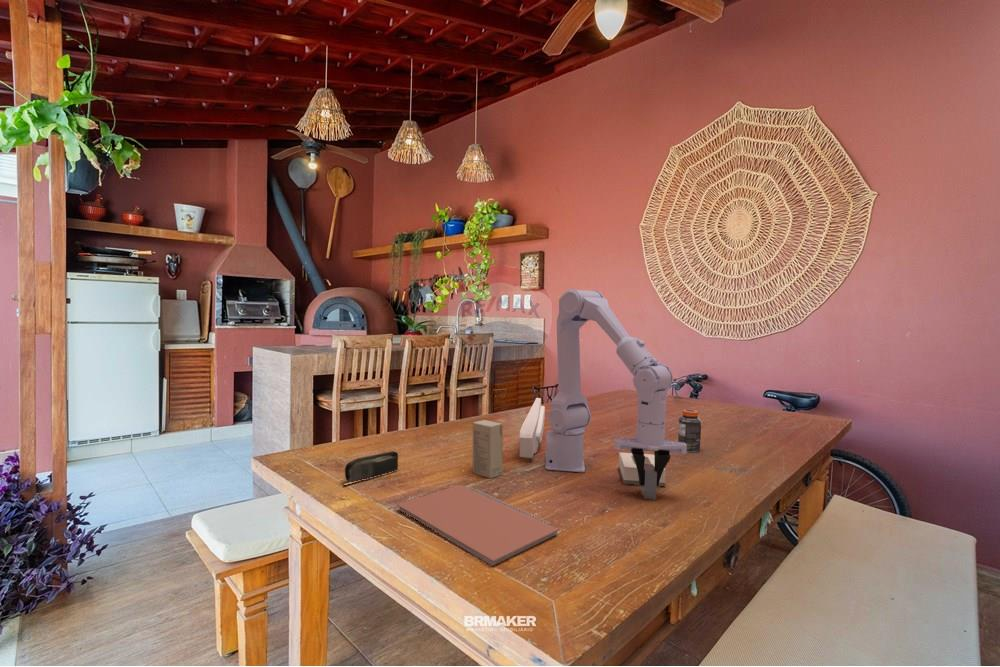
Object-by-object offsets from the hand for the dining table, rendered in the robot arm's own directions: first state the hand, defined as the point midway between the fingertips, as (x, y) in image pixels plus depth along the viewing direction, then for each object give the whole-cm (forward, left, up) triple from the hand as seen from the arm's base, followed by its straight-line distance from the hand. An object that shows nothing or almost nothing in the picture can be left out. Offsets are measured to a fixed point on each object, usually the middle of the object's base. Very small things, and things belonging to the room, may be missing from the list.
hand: (648, 484), depth 104 cm
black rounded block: (-62, -2, -3) cm, 62 cm away
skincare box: (-36, +6, -3) cm, 37 cm away
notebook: (-34, -19, -3) cm, 39 cm away
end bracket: (0, 0, -2) cm, 2 cm away
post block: (0, +11, -2) cm, 11 cm away
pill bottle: (+17, +37, -3) cm, 41 cm away
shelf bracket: (-27, +29, -3) cm, 40 cm away
